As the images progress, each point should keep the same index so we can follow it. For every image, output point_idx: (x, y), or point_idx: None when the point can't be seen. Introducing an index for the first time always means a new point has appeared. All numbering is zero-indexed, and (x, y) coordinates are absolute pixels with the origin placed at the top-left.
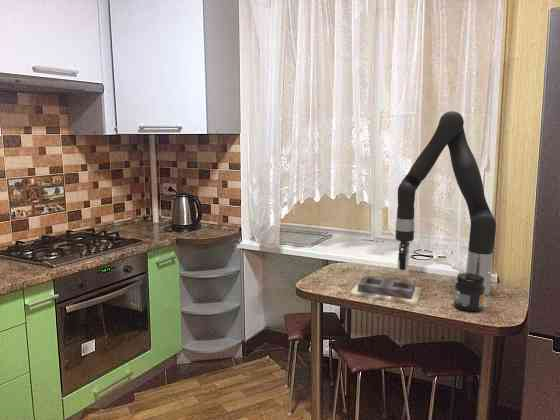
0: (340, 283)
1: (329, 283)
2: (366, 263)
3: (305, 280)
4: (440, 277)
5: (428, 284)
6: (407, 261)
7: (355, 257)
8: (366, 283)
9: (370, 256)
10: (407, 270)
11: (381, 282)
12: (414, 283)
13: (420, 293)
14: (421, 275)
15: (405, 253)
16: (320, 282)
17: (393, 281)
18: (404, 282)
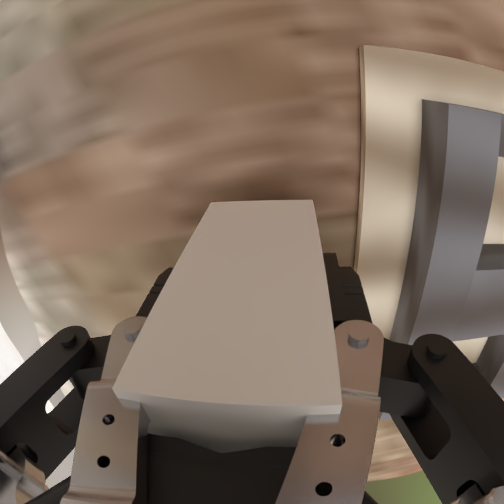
0: (377, 433)
1: (385, 449)
2: (69, 388)
3: (369, 479)
4: (18, 22)
5: (185, 22)
6: (328, 295)
7: (50, 409)
8: (498, 380)
9: (5, 370)
10: (299, 218)
11: (488, 333)
12: (477, 113)
13: (464, 61)
14: (32, 128)
15: (277, 438)
16: (379, 461)
17: (468, 277)
18: (477, 198)
